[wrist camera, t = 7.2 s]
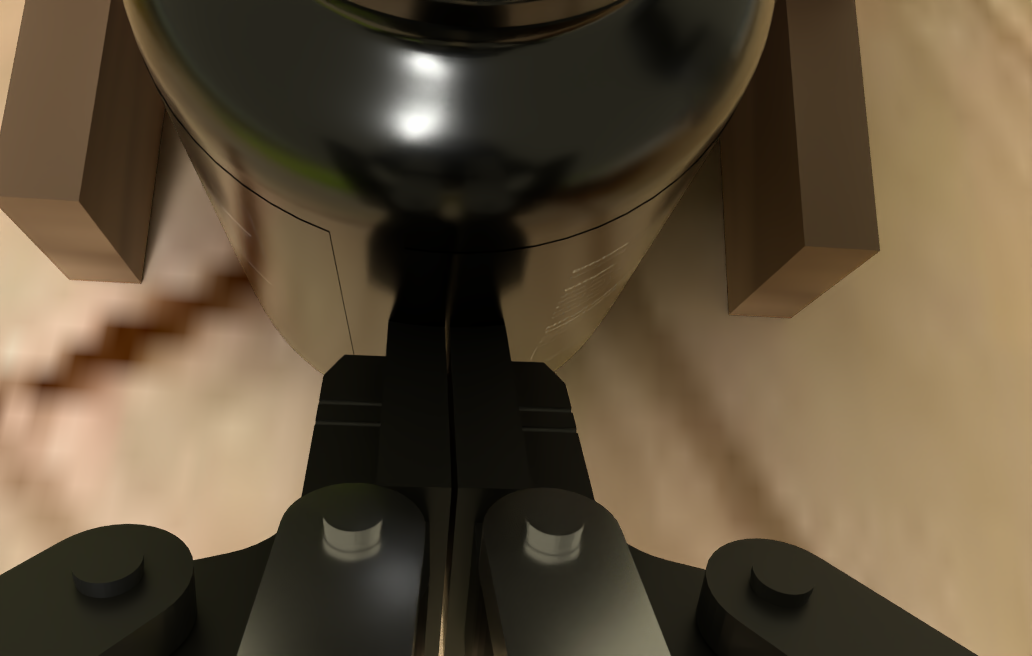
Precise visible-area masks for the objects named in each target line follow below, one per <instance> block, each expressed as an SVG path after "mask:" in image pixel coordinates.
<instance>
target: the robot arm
mask: <svg viewBox="0 0 1032 656" xmlns="http://www.w3.org/2000/svg"><path fill="white" fill-rule="evenodd" d="M441 616H443V656H978V655H976V654H974V653H973V652H971V651H970V650H968V649H966V648H965V647H963V646H961V645H960V644H958V643H957V642H955V641H953V640H952V639H950V638H949V637H947V636H945V635H944V634H942V633H940V632H939V631H937V630H936V629H934V628H932V627H931V626H929V625H928V624H926V623H924V622H923V621H921V620H919V619H918V618H916V617H915V616H913V615H911V614H910V613H908V612H907V611H905V610H903V609H902V608H900V607H898V606H897V605H895V604H894V603H892V602H890V601H889V600H887V599H886V598H884V597H882V596H881V595H879V594H877V593H876V592H874V591H873V590H871V589H869V588H868V587H866V586H865V585H863V584H861V583H860V582H858V581H856V580H855V579H853V578H852V577H850V576H848V575H847V574H845V573H844V572H842V571H840V570H839V569H837V568H835V567H834V566H832V565H831V564H829V563H827V562H826V561H824V560H823V559H821V558H819V557H818V556H816V555H814V554H812V553H810V552H808V551H806V550H804V549H802V548H799V547H797V546H794V545H791V544H788V543H785V542H780V541H775V540H769V539H743V540H737V541H734V542H731V543H728V544H726V545H724V546H722V547H720V548H719V549H718V550H717V551H715V552H714V553H713V555H712V556H711V557H710V559H709V561H708V564H707V567H706V570H704V569H700V568H696V567H692V566H688V565H684V564H680V563H676V562H672V561H668V560H664V559H661V558H658V557H654V556H652V555H649V554H647V553H644V552H642V551H640V550H638V549H636V548H634V547H632V546H630V545H629V544H627V543H626V540H625V538H624V535H623V533H622V530H621V528H620V526H619V524H618V522H617V520H616V519H615V518H614V517H613V515H612V514H611V513H610V512H609V511H608V510H607V509H605V508H604V507H603V506H602V505H600V504H599V503H597V502H596V501H595V500H594V496H593V492H592V488H591V484H590V480H589V476H588V472H587V468H586V464H585V460H584V456H583V452H582V448H581V444H580V440H579V436H578V433H576V424H575V420H574V416H573V413H571V404H570V400H569V396H568V393H567V389H566V385H565V383H564V382H563V381H562V380H561V379H560V378H559V377H558V376H557V375H556V374H555V373H554V372H553V371H552V370H551V369H550V368H549V367H548V366H547V365H546V364H545V363H544V362H521V361H511V356H510V350H509V344H508V338H507V332H506V326H505V325H497V326H485V327H450V329H449V334H448V338H447V343H446V338H445V327H434V326H421V325H411V324H405V323H398V322H391V321H388V330H387V344H386V356H370V355H346V354H344V355H343V356H342V357H341V358H340V359H339V360H338V361H337V362H336V363H335V364H334V365H333V366H332V367H331V368H330V369H329V370H328V371H327V372H326V373H325V374H324V376H323V382H322V387H321V393H320V398H319V404H318V409H317V415H316V423H315V426H314V431H313V437H312V442H311V448H310V453H309V459H308V464H307V470H306V475H305V481H304V486H303V492H302V497H301V498H299V499H298V500H297V501H295V502H294V503H293V504H292V505H291V506H290V507H289V508H288V509H287V511H286V512H285V513H284V515H283V517H282V520H281V522H280V525H279V528H278V531H277V533H276V534H275V535H273V536H271V537H270V538H268V539H266V540H264V541H262V542H260V543H258V544H256V545H254V546H251V547H248V548H246V549H243V550H239V551H235V552H231V553H227V554H222V555H217V556H212V557H207V558H203V559H198V560H193V558H192V555H191V553H190V550H189V548H188V547H187V546H186V545H185V543H184V542H183V541H182V540H180V539H179V538H178V537H176V536H175V535H173V534H171V533H169V532H167V531H165V530H162V529H159V528H156V527H152V526H146V525H138V524H119V525H110V526H103V527H98V528H94V529H91V530H87V531H84V532H81V533H78V534H76V535H73V536H71V537H69V538H67V539H65V540H63V541H61V542H59V543H57V544H55V545H53V546H52V547H50V548H48V549H46V550H44V551H43V552H41V553H39V554H37V555H36V556H34V557H32V558H30V559H28V560H27V561H25V562H23V563H21V564H19V565H18V566H16V567H14V568H12V569H10V570H9V571H7V572H5V573H3V574H2V575H0V656H438V654H439V642H440V629H441Z"/></svg>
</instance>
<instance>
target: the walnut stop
mask: <svg viewBox="0 0 1032 656" xmlns="http://www.w3.org/2000/svg"><path fill="white" fill-rule="evenodd" d="M164 112H165V106H164V104H163V102H162V100H161V98H160V95H159V93H158V91H157V89H156V87H155V85H154V83H153V81H152V79H151V77H150V75H149V72H148V70H147V68H146V66H145V64H144V61H143V58H142V55H141V52H140V50H139V48H138V45H137V42H136V39H135V37H134V34H133V31H132V28H131V25H130V22H129V20H128V17H127V14H126V11H125V8H124V4H123V0H25V5H24V11H23V16H22V21H21V26H20V32H19V37H18V42H17V47H16V53H15V58H14V63H13V68H12V74H11V79H10V84H9V90H8V95H7V100H6V105H5V111H4V116H3V121H2V126H1V132H0V208H1V209H2V210H3V212H4V213H5V214H6V215H7V216H8V217H9V218H10V219H11V220H12V221H13V222H14V223H15V224H16V225H17V226H18V227H19V228H20V229H21V230H22V231H23V232H24V233H25V234H26V235H27V236H28V237H29V238H30V239H31V241H32V242H33V243H34V244H35V245H36V246H37V247H38V248H39V249H40V250H41V251H42V252H43V253H44V254H45V255H46V256H47V257H48V258H49V259H50V260H51V261H52V262H53V263H54V264H55V265H56V266H57V267H58V269H59V270H60V271H61V272H62V273H63V274H64V275H65V276H66V277H67V278H68V279H69V280H83V281H102V282H120V283H139V284H141V281H142V274H143V266H144V259H145V252H146V244H147V237H148V230H149V222H150V215H151V208H152V200H153V193H154V185H155V178H156V171H157V163H158V156H159V149H160V141H161V134H162V127H163V119H164ZM720 148H721V168H722V187H723V207H724V227H725V247H726V267H727V287H728V306H729V315H743V316H762V317H780V318H791V317H793V316H794V315H795V314H797V313H798V312H799V311H801V310H802V309H803V308H805V307H806V306H807V305H809V304H810V303H811V302H813V301H814V300H815V299H817V298H818V297H819V296H821V295H822V294H823V293H825V292H826V291H827V290H829V289H830V288H831V287H833V286H834V285H835V284H837V283H838V282H839V281H840V280H842V279H843V278H844V277H846V276H847V275H848V274H850V273H851V272H852V271H854V270H855V269H856V268H858V267H859V266H860V265H862V264H863V263H864V262H866V261H867V260H868V259H870V258H871V257H872V256H874V255H875V254H876V253H878V252H879V251H880V247H879V237H878V227H877V217H876V207H875V197H874V187H873V177H872V167H871V157H870V147H869V137H868V127H867V117H866V107H865V97H864V87H863V77H862V67H861V57H860V47H859V37H858V27H857V17H856V7H855V0H775V4H774V11H773V17H772V21H771V25H770V29H769V33H768V37H767V41H766V45H765V47H764V50H763V53H762V55H761V58H760V60H759V63H758V66H757V68H756V71H755V73H754V75H753V77H752V79H751V81H750V83H749V85H748V87H747V89H746V91H745V93H744V95H743V97H742V99H741V101H740V103H739V105H738V106H737V108H736V110H735V112H734V114H733V116H732V118H731V119H730V121H729V123H728V124H727V126H726V128H725V129H724V131H723V132H722V134H721V135H720Z"/></svg>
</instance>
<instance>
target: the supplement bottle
mask: <svg viewBox="0 0 1032 656" xmlns="http://www.w3.org/2000/svg"><path fill="white" fill-rule="evenodd" d="M123 4H124V8H125V11H126V14H127V17H128V20H129V22H130V25H131V28H132V31H133V34H134V37H135V39H136V42H137V45H138V48H139V50H140V52H141V55H142V58H143V61H144V64H145V66H146V68H147V70H148V72H149V75H150V77H151V79H152V81H153V83H154V85H155V87H156V89H157V91H158V93H159V95H160V98H161V100H162V102H163V104H164V106H165V108H166V110H167V112H168V114H169V116H170V118H171V120H172V123H173V125H174V127H175V129H176V131H177V133H178V135H179V137H180V139H181V141H182V143H183V145H184V148H185V150H186V152H187V154H188V156H189V158H190V160H191V162H192V164H193V166H194V168H195V170H196V172H197V175H198V177H199V179H200V181H201V183H202V185H203V187H204V189H205V191H206V193H207V195H208V197H209V200H210V202H211V204H212V206H213V208H214V210H215V212H216V214H217V216H218V218H219V220H220V222H221V225H222V227H223V229H224V231H225V233H226V235H227V237H228V239H229V241H230V243H231V245H232V247H233V249H234V252H235V254H236V256H237V258H238V260H239V262H240V264H241V266H242V268H243V270H244V272H245V274H246V276H247V278H248V281H249V283H250V285H251V287H252V289H253V291H254V293H255V295H256V296H257V298H258V300H259V302H260V304H261V305H262V307H263V309H264V311H265V312H266V314H267V316H268V317H269V319H270V320H271V322H272V323H273V325H274V326H275V328H276V329H277V330H278V331H279V333H280V334H281V335H282V337H283V338H284V339H285V340H286V342H287V343H288V344H289V345H290V346H291V347H292V348H293V349H294V350H295V351H296V352H297V353H298V354H299V355H300V356H301V357H302V358H303V359H304V360H305V361H307V362H308V363H309V364H310V365H311V366H312V367H314V368H315V369H316V370H318V371H319V372H320V373H322V374H323V375H324V374H325V373H326V372H327V371H328V370H329V369H330V368H331V367H332V366H333V365H334V364H335V363H336V362H337V361H338V360H339V359H340V358H341V357H342V356H343V355H344V354H346V355H370V356H386V344H387V330H388V321H391V322H398V323H405V324H411V325H421V326H434V327H445V338H446V343H447V338H448V334H449V329H450V327H485V326H497V325H505V326H506V332H507V338H508V344H509V350H510V356H511V361H521V362H544V363H545V364H546V365H547V366H548V367H549V368H550V369H551V370H552V371H553V372H554V371H556V370H557V369H558V368H559V367H561V366H562V365H563V364H564V363H566V362H567V361H568V360H569V359H570V358H571V357H572V356H573V355H574V354H575V353H576V352H577V351H578V350H579V349H580V348H581V347H582V346H583V345H584V344H585V342H586V341H587V340H588V339H589V338H590V336H591V335H592V334H593V333H594V331H595V330H596V328H597V327H598V325H599V324H600V322H601V321H602V320H603V319H604V317H605V316H606V314H607V313H608V311H609V310H610V308H611V307H612V305H613V304H614V302H615V301H616V299H617V297H618V296H619V294H620V293H621V291H622V290H623V288H624V286H625V285H626V283H627V282H628V280H629V279H630V277H631V275H632V274H633V272H634V271H635V269H636V268H637V266H638V264H639V263H640V261H641V260H642V258H643V257H644V255H645V253H646V252H647V250H648V249H649V247H650V246H651V244H652V242H653V241H654V239H655V238H656V236H657V235H658V233H659V231H660V230H661V228H662V227H663V225H664V224H665V222H666V220H667V219H668V217H669V216H670V214H671V213H672V211H673V209H674V208H675V206H676V205H677V203H678V202H679V200H680V198H681V197H682V195H683V194H684V192H685V191H686V189H687V187H688V186H689V184H690V183H691V181H692V180H693V178H694V176H695V175H696V173H697V172H698V170H699V169H700V167H701V165H702V164H703V162H704V161H705V159H706V158H707V156H708V154H709V153H710V151H711V150H712V148H713V147H714V145H715V143H716V142H717V140H718V139H719V137H720V135H721V134H722V132H723V131H724V129H725V128H726V126H727V124H728V123H729V121H730V119H731V118H732V116H733V114H734V112H735V110H736V108H737V106H738V105H739V103H740V101H741V99H742V97H743V95H744V93H745V91H746V89H747V87H748V85H749V83H750V81H751V79H752V77H753V75H754V73H755V71H756V68H757V66H758V63H759V60H760V58H761V55H762V53H763V50H764V47H765V45H766V41H767V37H768V33H769V29H770V25H771V21H772V17H773V11H774V4H775V0H123Z"/></svg>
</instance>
